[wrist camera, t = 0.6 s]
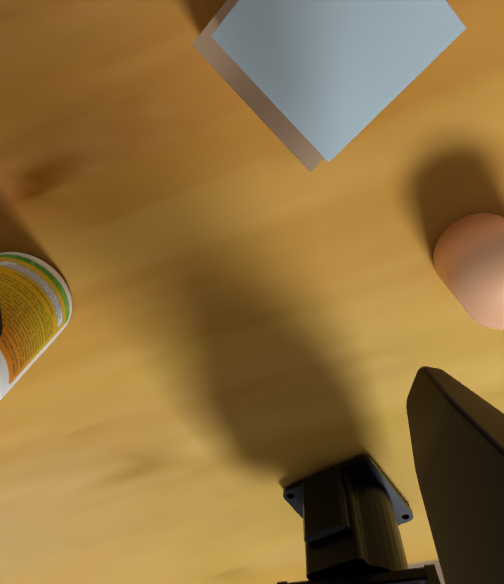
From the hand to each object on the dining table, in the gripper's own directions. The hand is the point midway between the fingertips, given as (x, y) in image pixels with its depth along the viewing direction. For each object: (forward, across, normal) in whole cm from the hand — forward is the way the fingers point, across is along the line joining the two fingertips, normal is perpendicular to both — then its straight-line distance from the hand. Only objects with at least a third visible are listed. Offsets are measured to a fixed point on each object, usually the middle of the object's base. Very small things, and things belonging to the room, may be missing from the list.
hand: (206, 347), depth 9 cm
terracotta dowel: (+13, -11, +1) cm, 17 cm away
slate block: (+9, -2, -7) cm, 11 cm away
